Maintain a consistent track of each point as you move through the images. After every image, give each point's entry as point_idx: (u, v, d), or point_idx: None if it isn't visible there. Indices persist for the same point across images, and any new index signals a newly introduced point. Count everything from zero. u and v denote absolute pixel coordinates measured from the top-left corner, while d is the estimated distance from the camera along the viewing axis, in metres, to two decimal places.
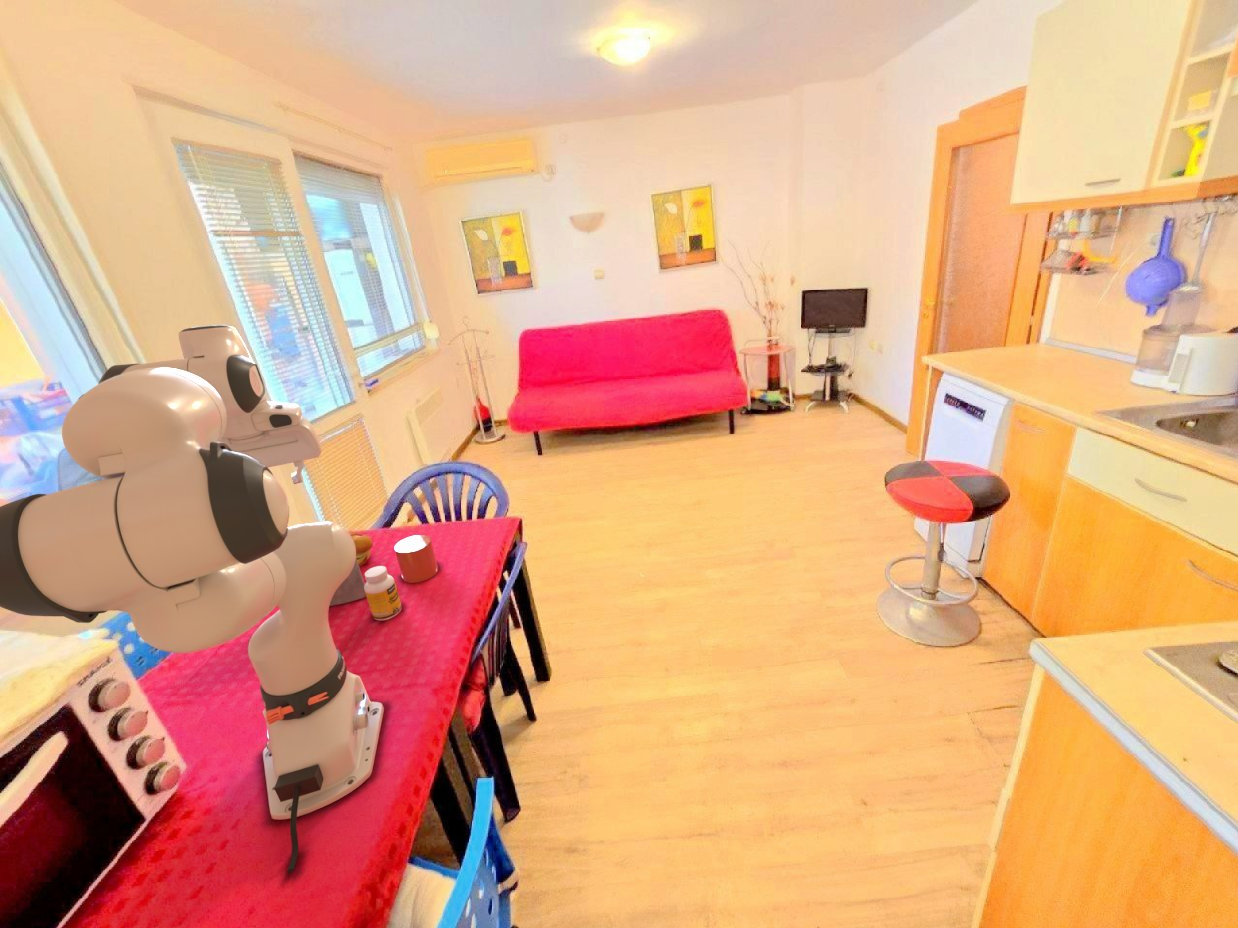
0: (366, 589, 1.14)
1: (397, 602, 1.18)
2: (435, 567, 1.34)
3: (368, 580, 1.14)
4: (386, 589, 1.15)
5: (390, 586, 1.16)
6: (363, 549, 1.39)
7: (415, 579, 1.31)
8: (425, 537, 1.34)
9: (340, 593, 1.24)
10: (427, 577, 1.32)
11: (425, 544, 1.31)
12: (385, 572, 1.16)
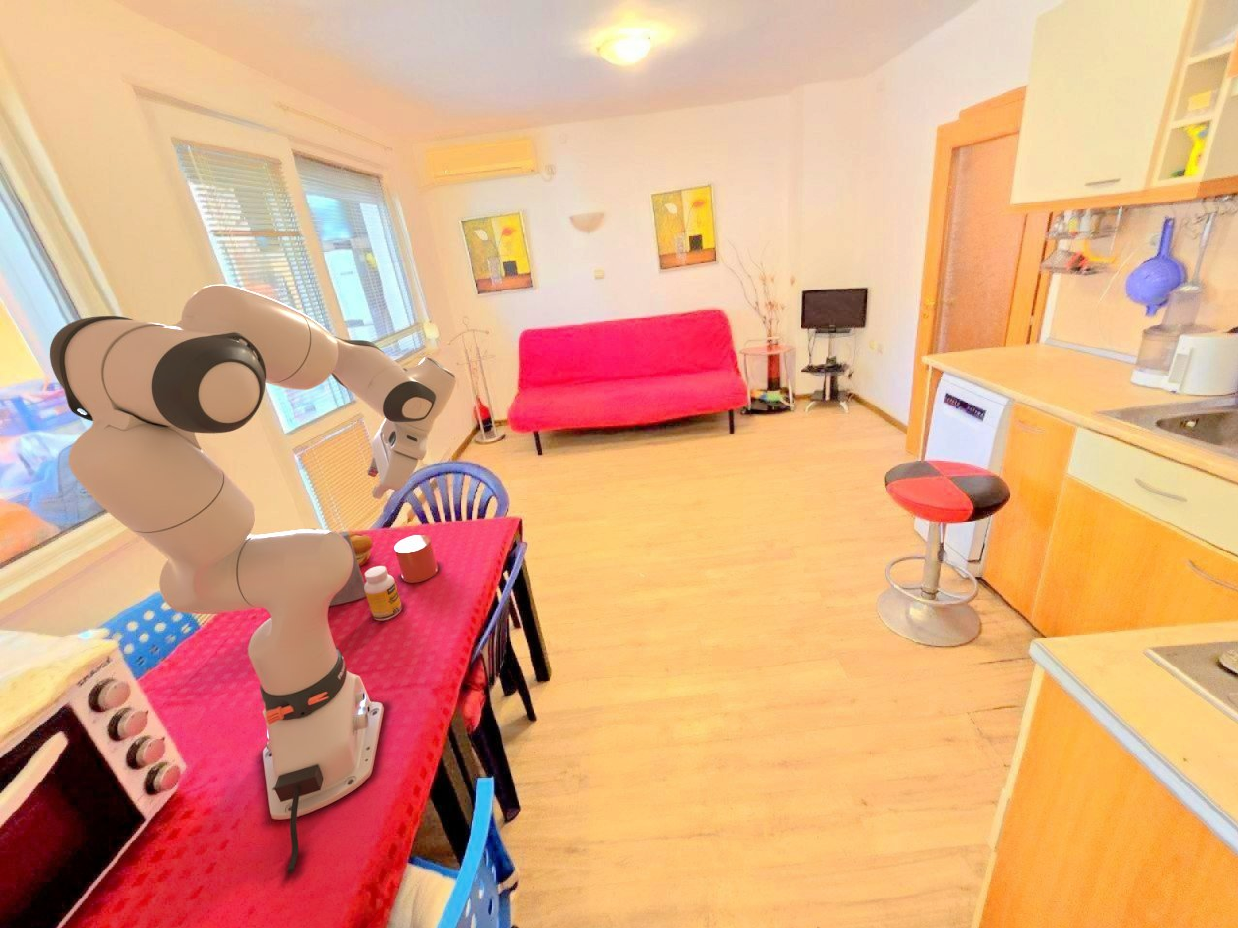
0: (366, 589, 1.14)
1: (397, 602, 1.18)
2: (435, 567, 1.34)
3: (368, 580, 1.14)
4: (386, 589, 1.15)
5: (390, 586, 1.16)
6: (363, 549, 1.39)
7: (415, 579, 1.31)
8: (425, 537, 1.34)
9: (340, 593, 1.24)
10: (427, 577, 1.32)
11: (425, 544, 1.31)
12: (385, 572, 1.16)
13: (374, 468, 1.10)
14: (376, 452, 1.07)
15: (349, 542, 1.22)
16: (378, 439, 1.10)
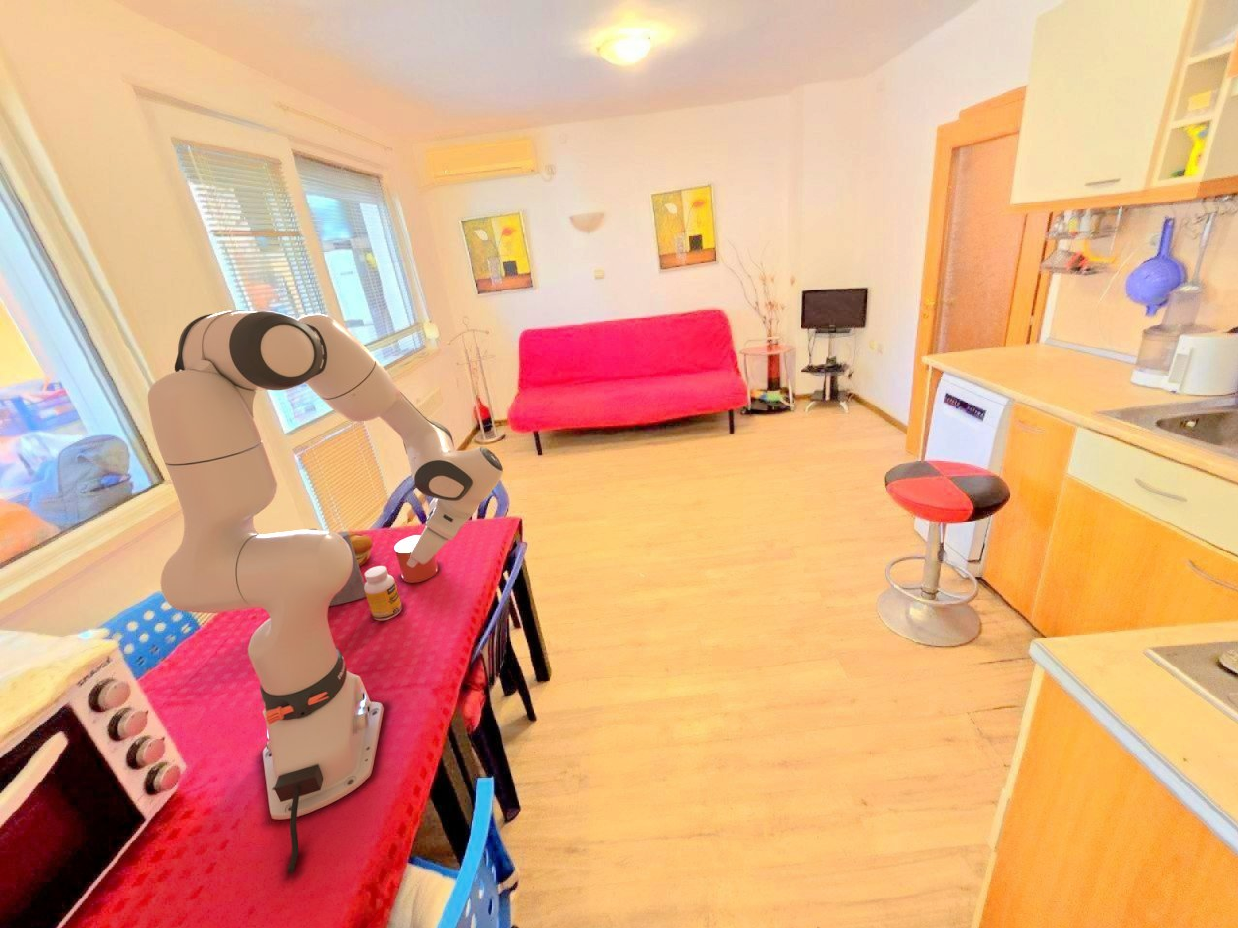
0: (366, 589, 1.14)
1: (397, 602, 1.18)
2: (435, 567, 1.34)
3: (368, 580, 1.14)
4: (386, 589, 1.15)
5: (390, 586, 1.16)
6: (363, 549, 1.39)
7: (415, 579, 1.31)
8: None
9: (341, 593, 1.24)
10: (427, 577, 1.32)
11: None
12: (385, 572, 1.16)
13: None
14: None
15: (349, 542, 1.22)
16: None
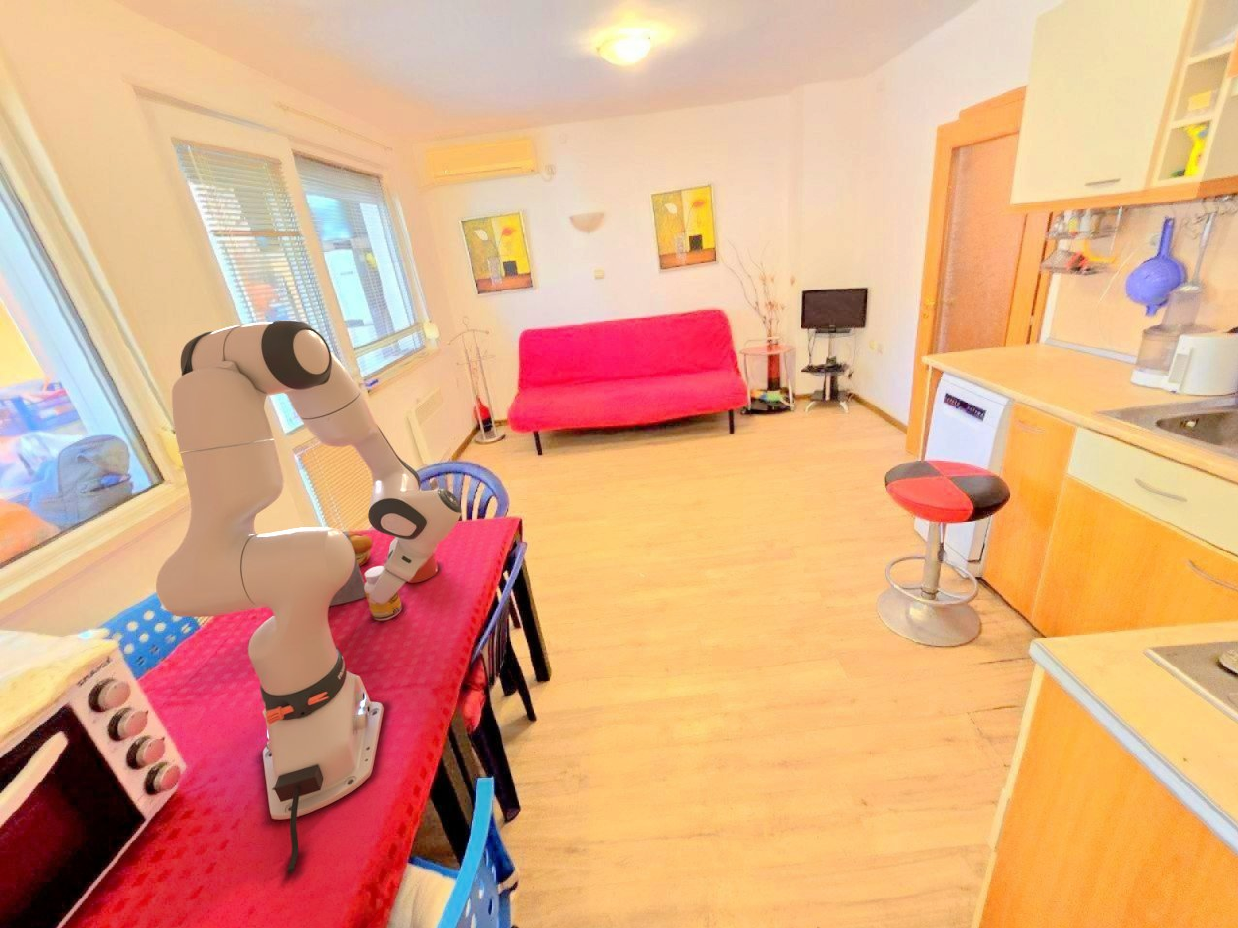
0: (366, 589, 1.14)
1: (397, 602, 1.18)
2: (435, 567, 1.34)
3: (368, 580, 1.14)
4: None
5: None
6: (363, 549, 1.39)
7: (415, 579, 1.31)
8: None
9: (341, 593, 1.24)
10: (427, 577, 1.32)
11: None
12: None
13: None
14: None
15: None
16: None
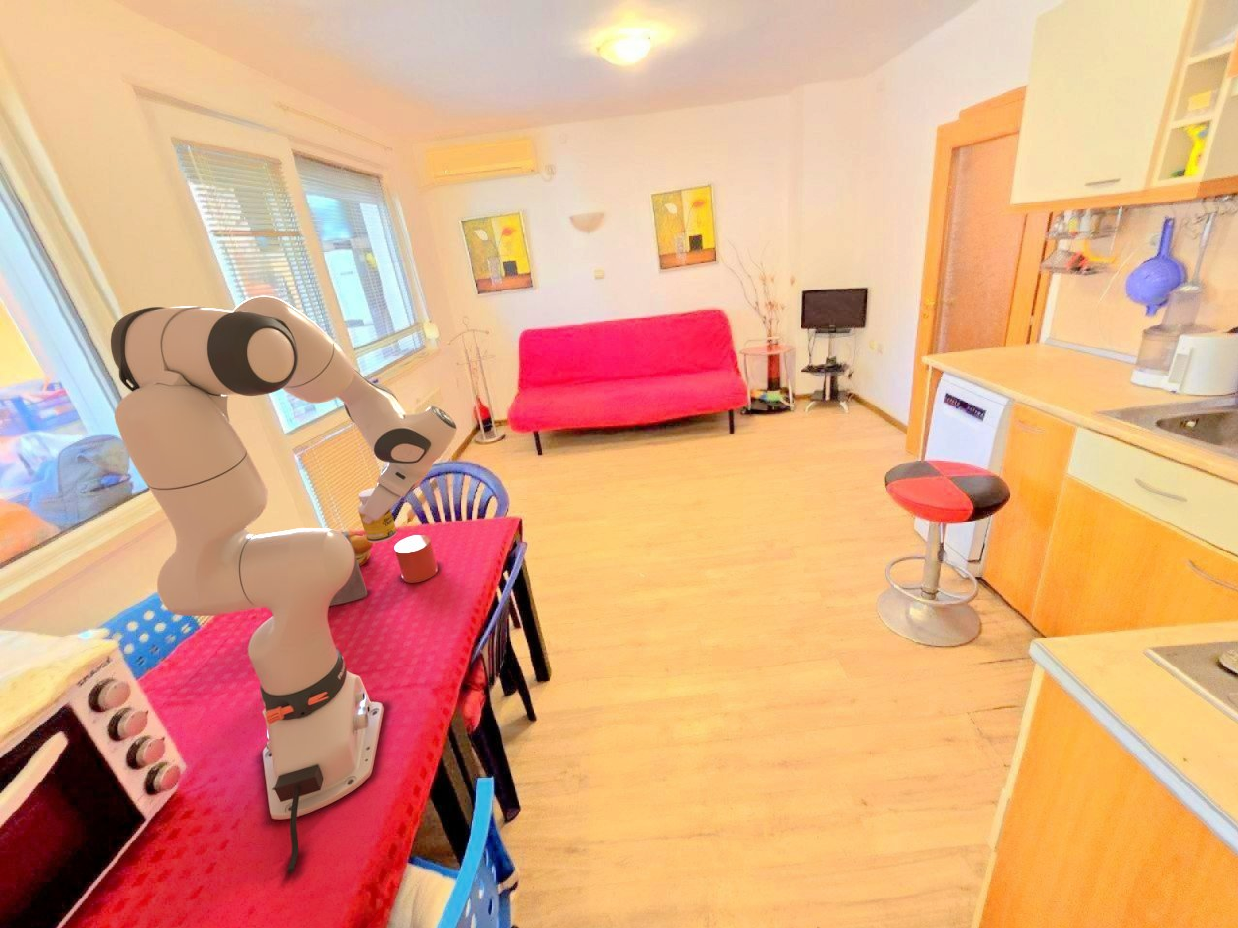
0: (360, 509, 1.13)
1: (392, 525, 1.17)
2: (435, 567, 1.34)
3: (362, 500, 1.13)
4: None
5: None
6: (363, 549, 1.39)
7: (415, 579, 1.31)
8: (425, 537, 1.34)
9: (340, 593, 1.24)
10: (427, 577, 1.32)
11: (425, 544, 1.31)
12: None
13: None
14: None
15: None
16: None
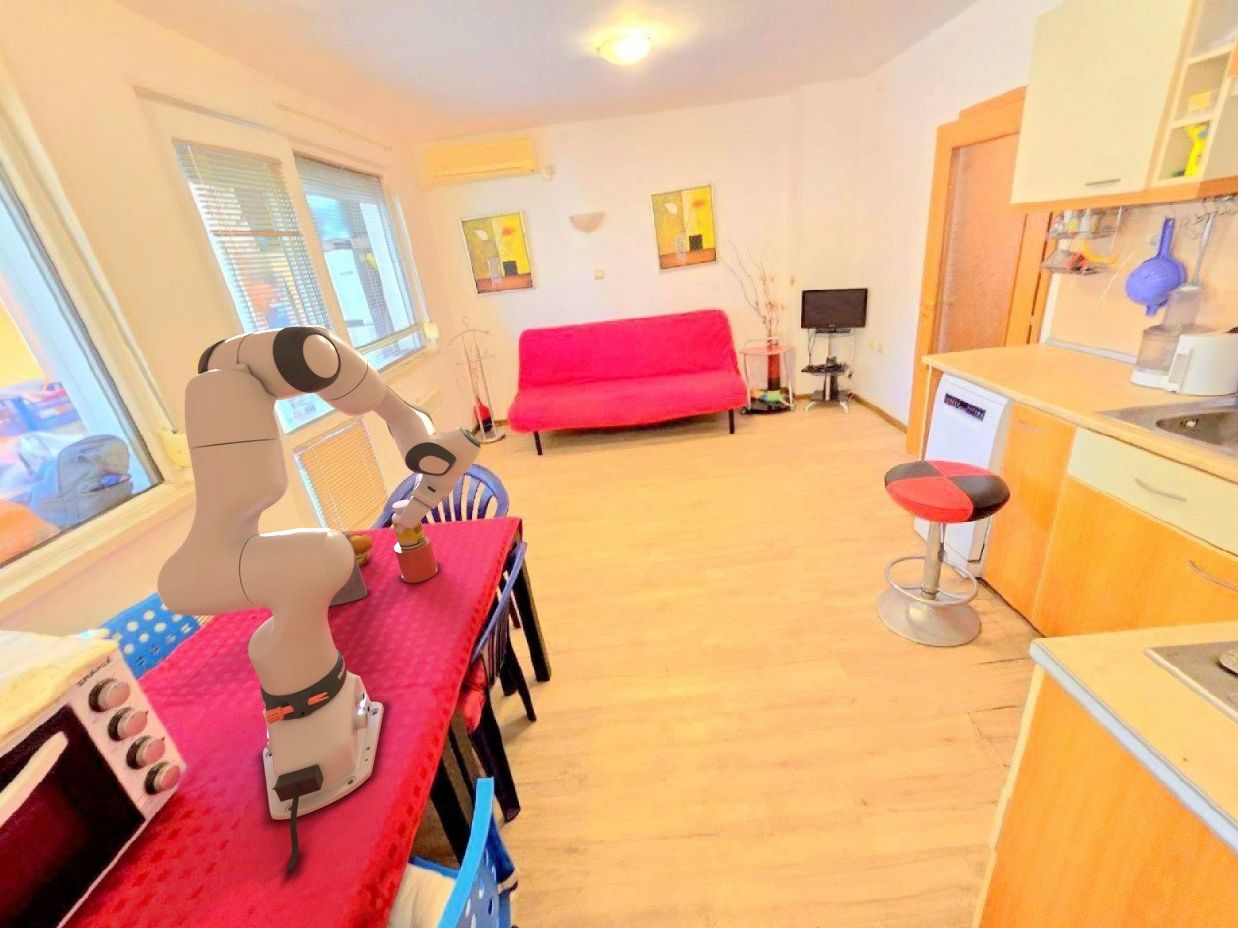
0: (394, 519, 1.26)
1: (421, 533, 1.30)
2: (435, 567, 1.34)
3: (396, 511, 1.26)
4: None
5: None
6: (363, 549, 1.39)
7: (415, 579, 1.31)
8: (425, 537, 1.34)
9: (341, 593, 1.24)
10: (427, 577, 1.32)
11: (425, 544, 1.31)
12: None
13: None
14: None
15: None
16: None
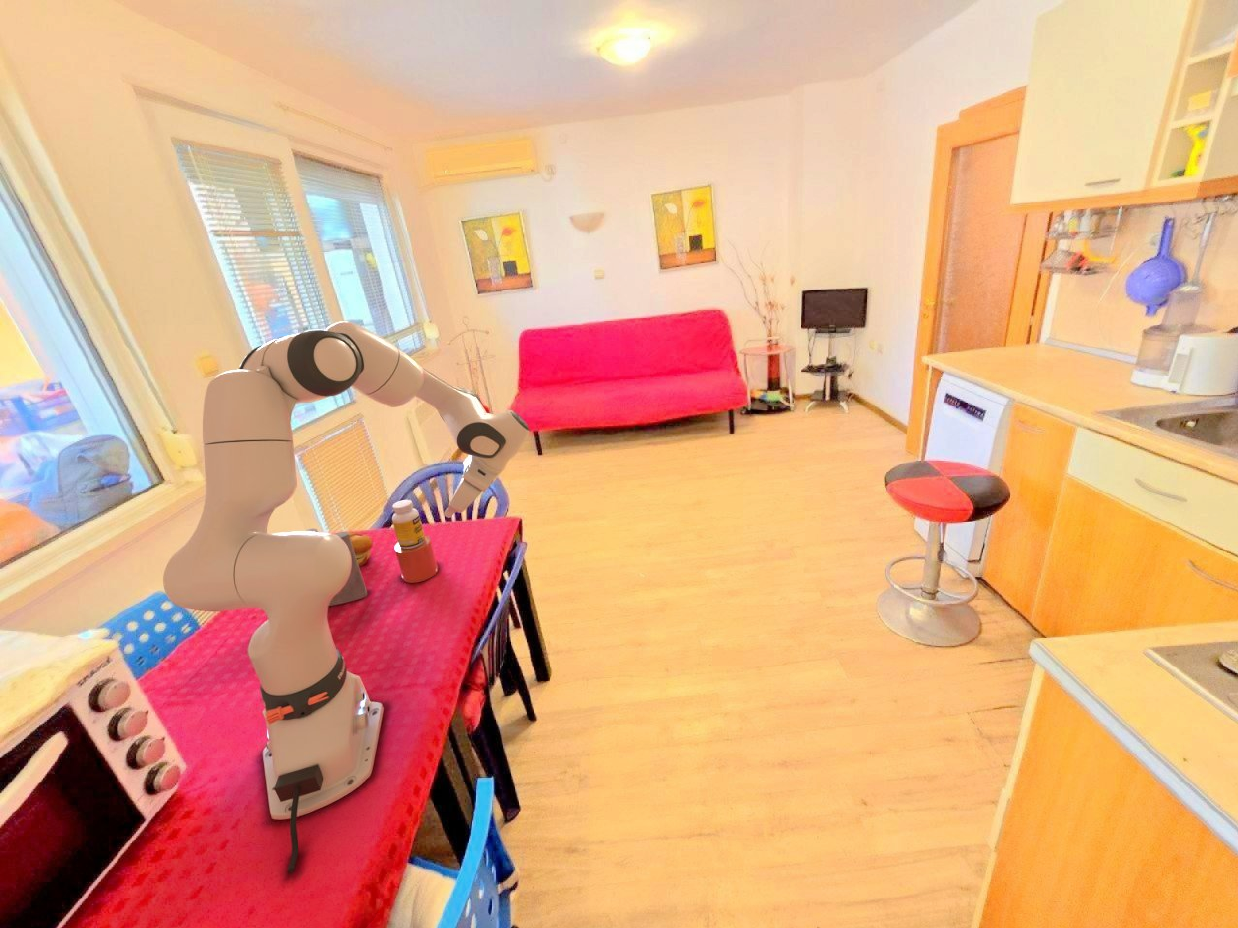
0: (394, 519, 1.26)
1: (421, 533, 1.30)
2: (435, 567, 1.34)
3: (396, 511, 1.26)
4: (412, 519, 1.27)
5: (415, 517, 1.28)
6: (363, 549, 1.39)
7: (415, 579, 1.31)
8: (425, 537, 1.34)
9: (341, 593, 1.24)
10: (427, 577, 1.32)
11: (425, 544, 1.31)
12: (411, 504, 1.28)
13: None
14: (460, 481, 1.30)
15: (349, 542, 1.22)
16: None
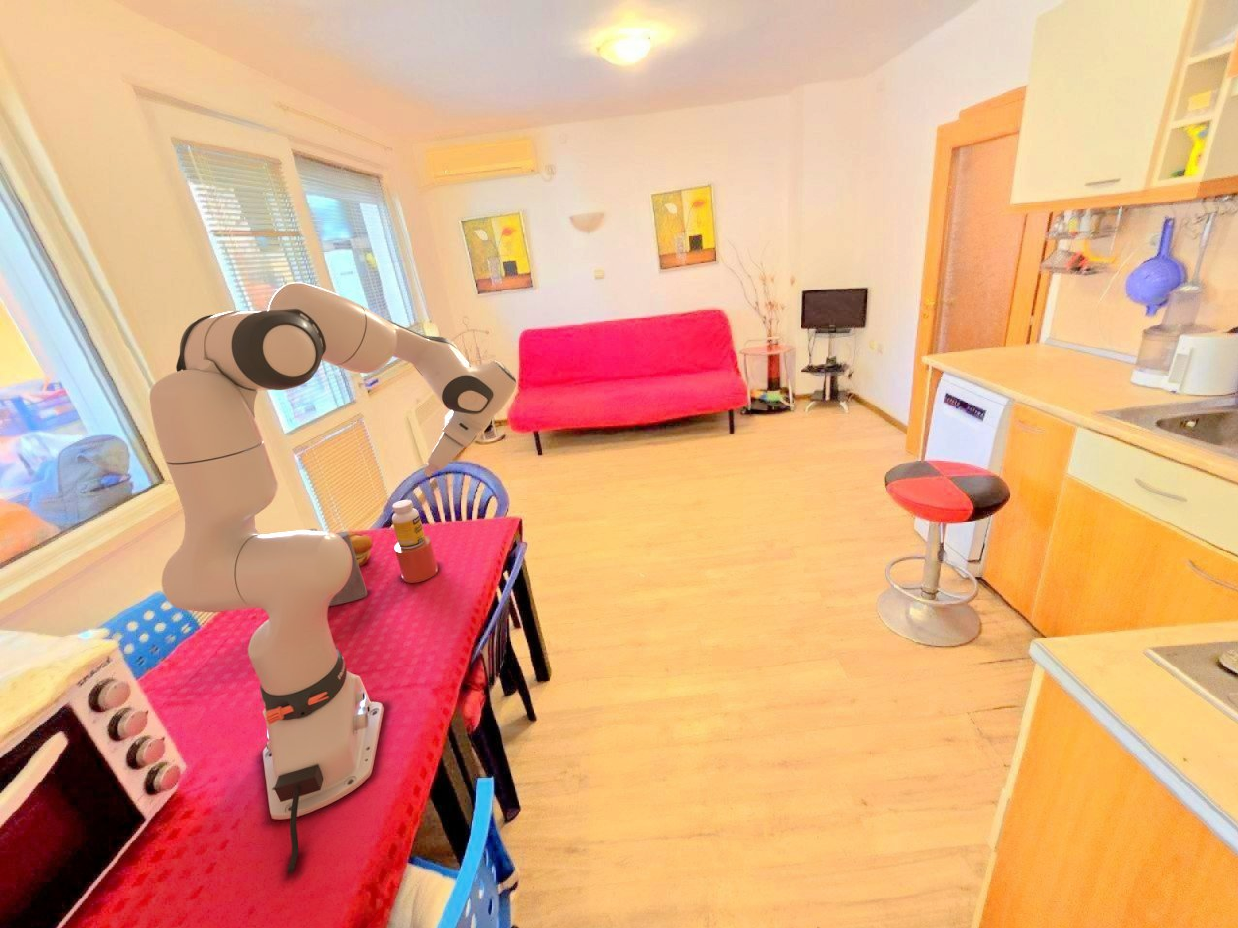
0: (394, 519, 1.26)
1: (421, 533, 1.30)
2: (435, 567, 1.34)
3: (396, 511, 1.26)
4: (412, 519, 1.27)
5: (415, 517, 1.28)
6: (363, 549, 1.39)
7: (415, 579, 1.31)
8: (425, 537, 1.34)
9: (341, 593, 1.24)
10: (427, 577, 1.32)
11: (425, 544, 1.31)
12: (411, 504, 1.28)
13: None
14: None
15: (349, 542, 1.22)
16: None
